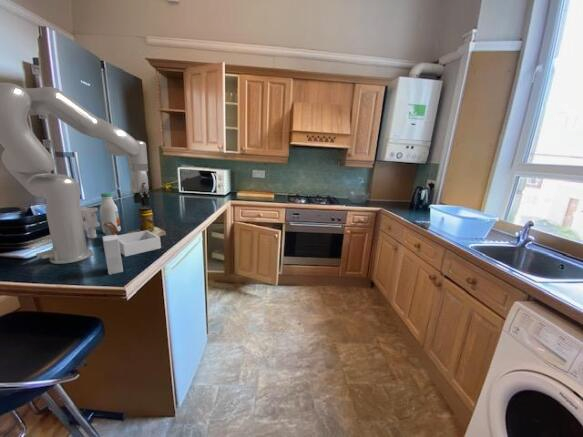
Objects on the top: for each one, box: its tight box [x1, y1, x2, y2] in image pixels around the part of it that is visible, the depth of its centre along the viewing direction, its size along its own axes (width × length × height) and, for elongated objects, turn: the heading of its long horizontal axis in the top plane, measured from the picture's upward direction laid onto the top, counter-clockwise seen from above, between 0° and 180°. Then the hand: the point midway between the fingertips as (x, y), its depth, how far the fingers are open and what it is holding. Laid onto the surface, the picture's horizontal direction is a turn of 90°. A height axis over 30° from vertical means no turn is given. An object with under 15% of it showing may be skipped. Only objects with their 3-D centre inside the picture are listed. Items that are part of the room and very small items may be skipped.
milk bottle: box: [99, 192, 122, 234], centre depth 128 cm, size 8×8×20 cm
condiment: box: [133, 206, 157, 233], centre depth 124 cm, size 7×8×12 cm
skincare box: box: [102, 235, 124, 276], centre depth 86 cm, size 6×4×12 cm
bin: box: [117, 230, 162, 257], centre depth 108 cm, size 14×15×5 cm
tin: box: [104, 222, 120, 236], centre depth 115 cm, size 15×3×8 cm, turn 47°
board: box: [126, 226, 167, 237], centre depth 126 cm, size 14×11×2 cm
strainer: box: [80, 206, 101, 239], centre depth 119 cm, size 7×7×15 cm
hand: (141, 204), depth 121 cm, fingers open, 9 cm apart
